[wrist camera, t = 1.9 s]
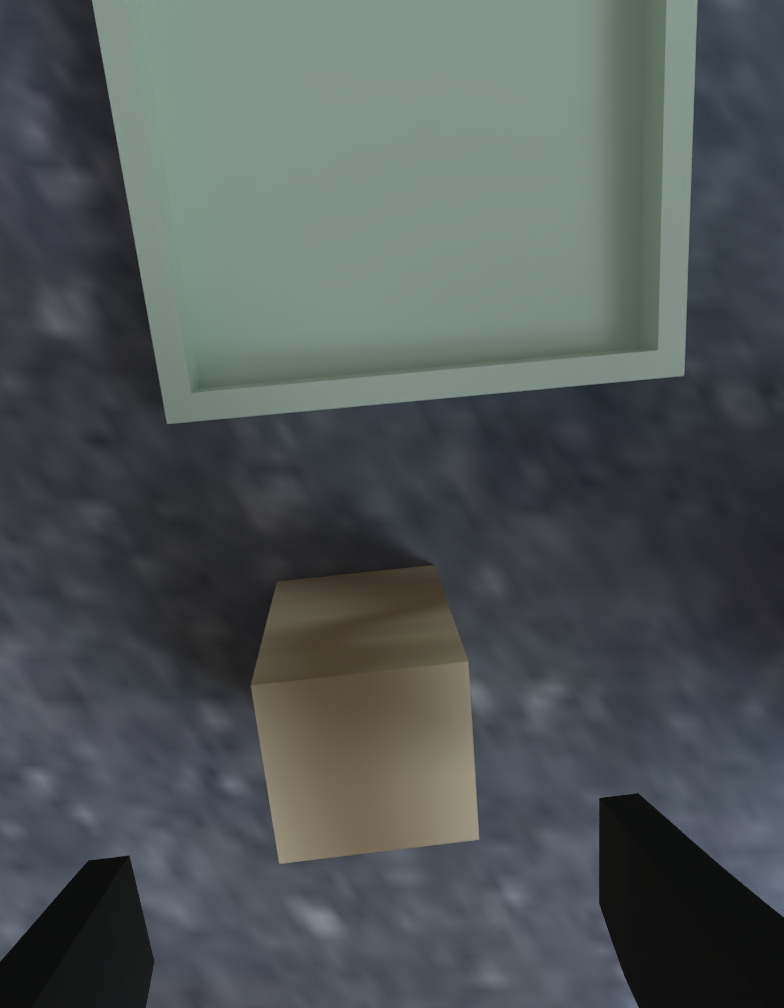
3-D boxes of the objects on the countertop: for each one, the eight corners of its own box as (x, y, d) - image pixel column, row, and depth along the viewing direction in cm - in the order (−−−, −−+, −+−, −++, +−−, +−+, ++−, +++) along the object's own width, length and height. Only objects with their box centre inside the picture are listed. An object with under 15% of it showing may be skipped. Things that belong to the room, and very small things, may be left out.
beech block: (433, 564, 17) (468, 661, 12) (443, 701, 18) (479, 839, 14) (276, 580, 17) (250, 685, 12) (296, 718, 18) (279, 863, 13)
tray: (667, -215, 13) (706, -279, 12) (653, 370, 16) (684, 376, 15) (81, -182, 13) (48, -246, 11) (183, 413, 16) (167, 423, 14)
